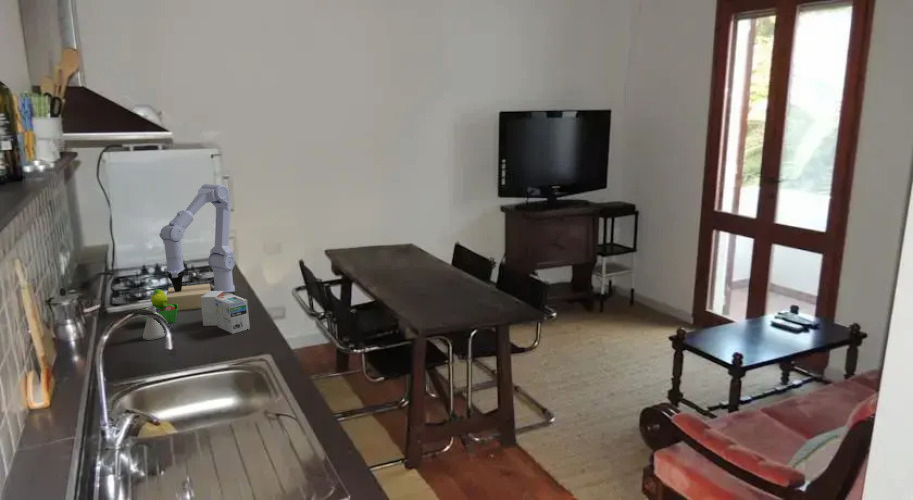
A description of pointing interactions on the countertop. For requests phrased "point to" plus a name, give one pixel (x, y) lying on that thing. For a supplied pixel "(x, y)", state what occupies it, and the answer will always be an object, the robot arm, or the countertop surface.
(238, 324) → the light bulb box
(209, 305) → the small box
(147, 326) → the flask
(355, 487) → the countertop surface
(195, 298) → the cardboard box
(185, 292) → the cardboard lid
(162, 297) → the fruit basket
